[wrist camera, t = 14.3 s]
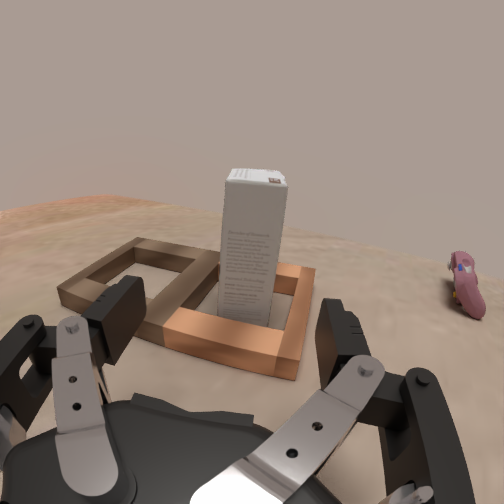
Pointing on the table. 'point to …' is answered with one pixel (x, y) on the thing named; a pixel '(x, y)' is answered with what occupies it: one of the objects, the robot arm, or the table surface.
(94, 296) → the brown flat frame
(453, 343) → the table surface
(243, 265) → the skincare box
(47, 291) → the table surface
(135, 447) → the robot arm
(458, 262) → the video game controller
